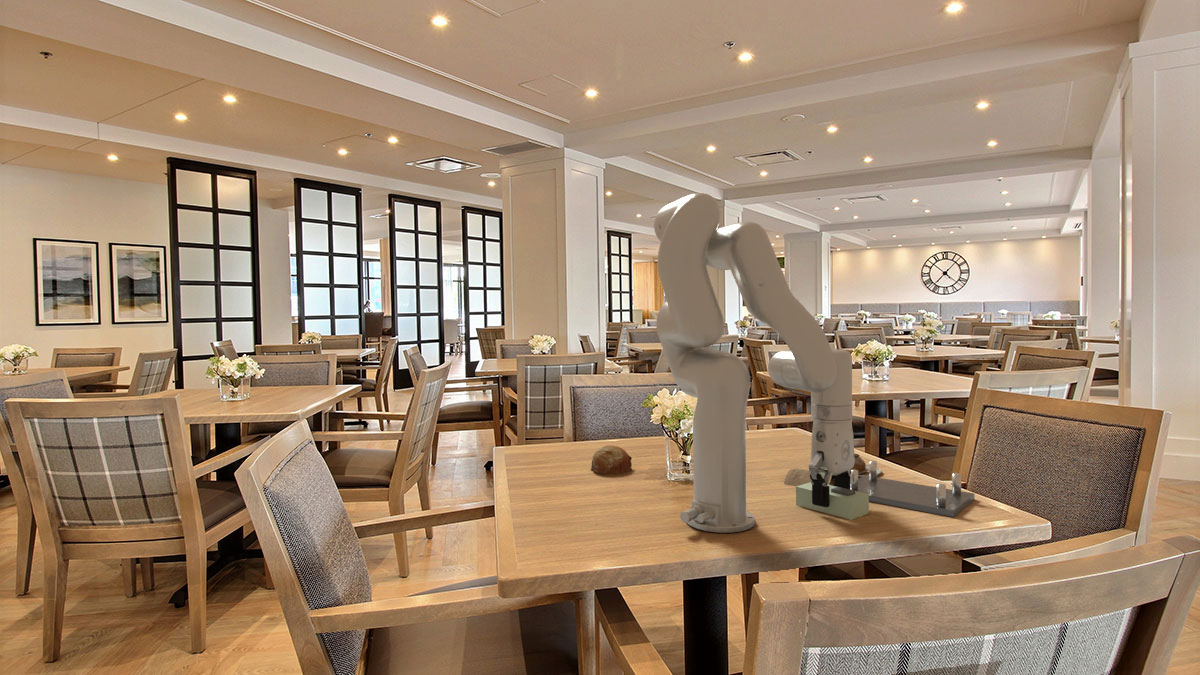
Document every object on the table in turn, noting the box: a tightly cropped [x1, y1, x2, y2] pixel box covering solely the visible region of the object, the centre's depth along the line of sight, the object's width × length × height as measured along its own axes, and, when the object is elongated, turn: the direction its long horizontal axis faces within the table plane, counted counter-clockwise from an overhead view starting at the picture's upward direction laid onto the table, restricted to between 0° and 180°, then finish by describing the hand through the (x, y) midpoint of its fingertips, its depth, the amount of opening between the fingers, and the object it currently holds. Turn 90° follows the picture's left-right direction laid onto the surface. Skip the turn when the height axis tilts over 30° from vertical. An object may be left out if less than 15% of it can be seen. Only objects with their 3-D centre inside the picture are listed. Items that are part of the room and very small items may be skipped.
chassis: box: [850, 460, 975, 518], centre depth 130 cm, size 15×22×5 cm
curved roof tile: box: [783, 467, 834, 487], centre depth 144 cm, size 14×10×3 cm
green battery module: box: [795, 482, 870, 521], centre depth 123 cm, size 6×12×5 cm, turn 37°
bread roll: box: [590, 444, 633, 475], centre depth 157 cm, size 10×10×8 cm
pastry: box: [848, 453, 882, 478], centre depth 151 cm, size 12×12×5 cm
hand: (831, 499), depth 123 cm, fingers open, 9 cm apart
